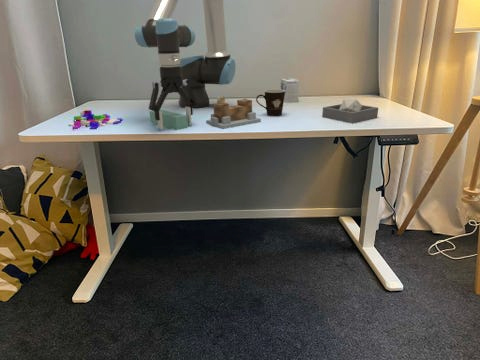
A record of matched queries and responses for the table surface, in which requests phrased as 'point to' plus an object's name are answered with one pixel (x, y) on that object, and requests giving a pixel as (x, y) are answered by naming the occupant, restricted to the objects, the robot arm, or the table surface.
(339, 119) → the dice tray
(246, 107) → the wooden grain block
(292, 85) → the light bulb box
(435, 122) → the table surface
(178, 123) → the green rectangular block
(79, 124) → the building block set
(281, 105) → the coffee mug
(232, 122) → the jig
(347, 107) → the white irregular lump
